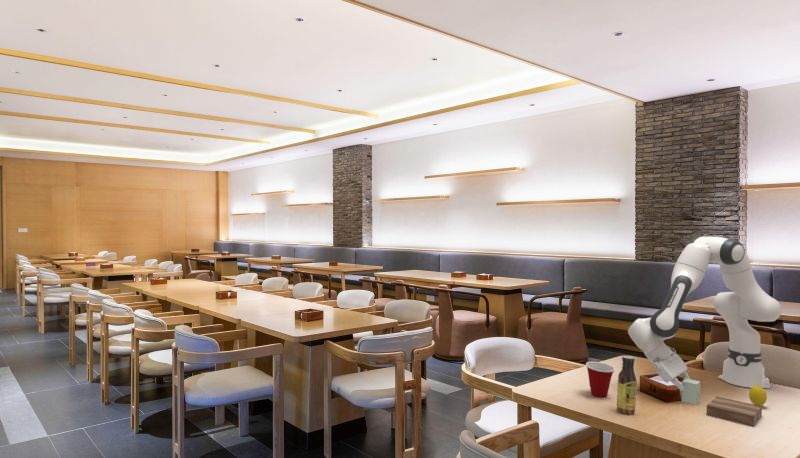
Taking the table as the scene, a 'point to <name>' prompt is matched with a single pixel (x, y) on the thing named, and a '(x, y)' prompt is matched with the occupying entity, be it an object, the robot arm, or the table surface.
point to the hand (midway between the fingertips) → (686, 386)
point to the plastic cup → (599, 378)
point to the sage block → (691, 391)
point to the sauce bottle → (627, 387)
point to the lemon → (757, 395)
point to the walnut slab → (734, 411)
